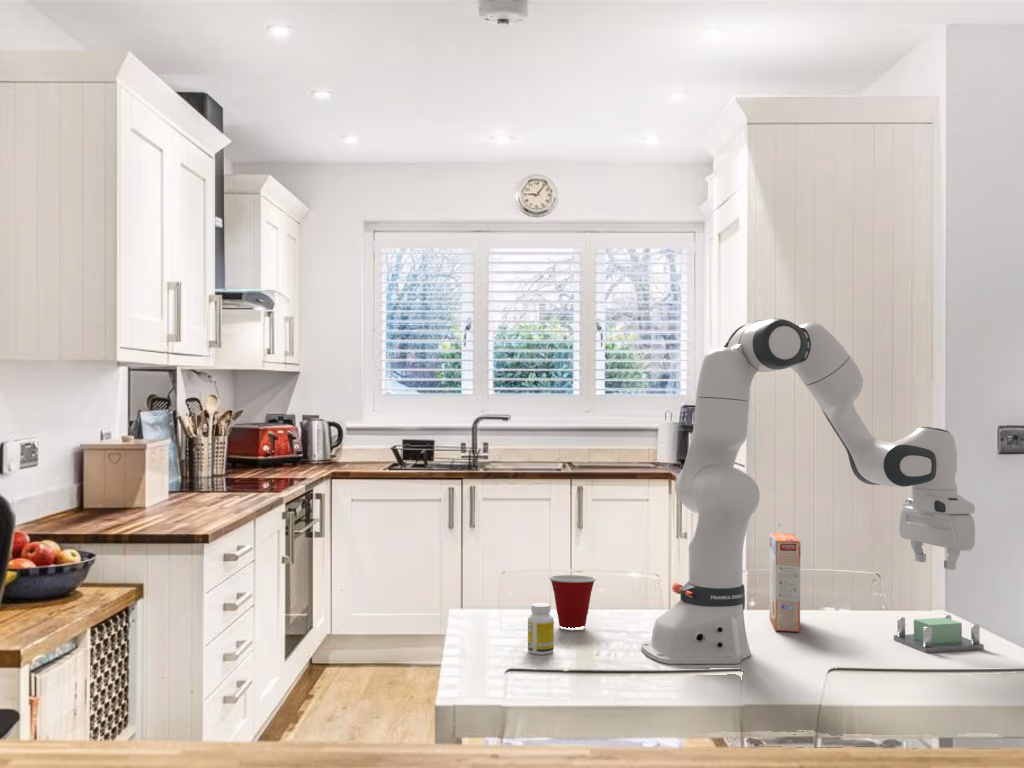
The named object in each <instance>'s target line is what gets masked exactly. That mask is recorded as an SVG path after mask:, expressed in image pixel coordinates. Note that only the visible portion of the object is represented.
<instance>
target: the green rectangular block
mask: <svg viewBox="0 0 1024 768" xmlns="http://www.w3.org/2000/svg"><path fill="white" fill-rule="evenodd" d="M962 623H963V622H960V621H957V620H953V619H952V618H951V619H948V618H943V617H936V618H932V617H931V618H917V619H915V618H914V619H913V634H914V638H915V639H918V640H921V641H923V627H925V626H927V627H931V628H932V644H936V643H951V642H962V637H963V635H962V634H963V631H962V629H963V624H962Z"/></svg>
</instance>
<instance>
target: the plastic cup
mask: <svg viewBox="0 0 1024 768" xmlns="http://www.w3.org/2000/svg"><path fill="white" fill-rule="evenodd" d="M548 579H549V580H550V582H551V587H552V590H553V594H554V595H553V596H554V601H555V607H556V614H557V619H558V620H557V621H558V625H559V627H560V626H562V627H566V628H568V627H570V628H572V627H573V628H575V627H581V626H585V627H586V625H585V624H587V617H588V614H589V608H590V602H591V596H592V591H593V587H594V585H595V584H594V583H595V581H596V579H597V578H596V577H593V576H589V575H576V574H575V575H574V574H570V575H569V574H568V575H567V574H566V575H565V574H563V575H551V576H549V577H548Z"/></svg>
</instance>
